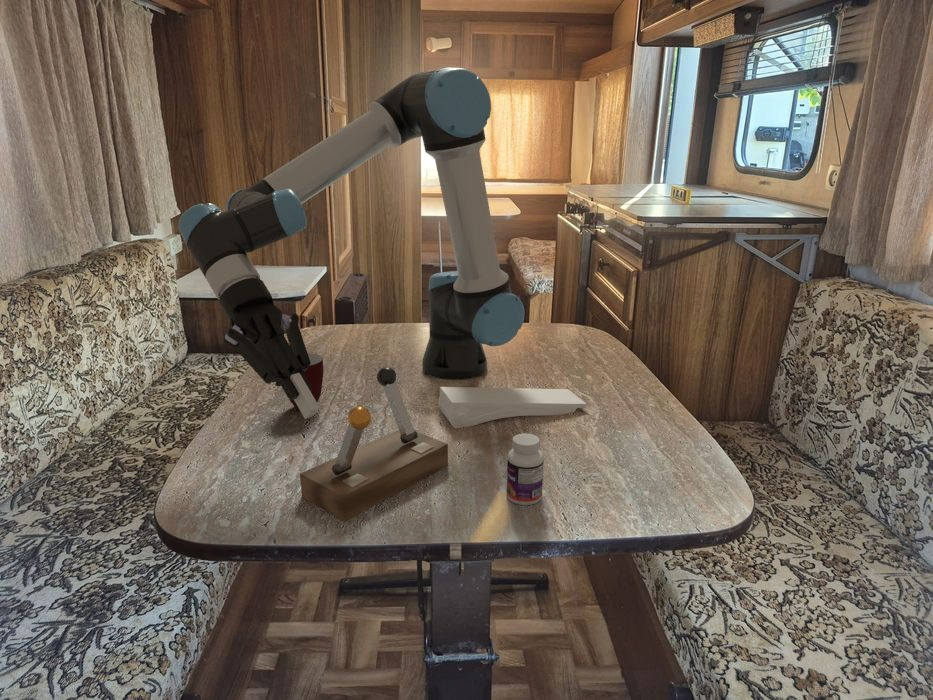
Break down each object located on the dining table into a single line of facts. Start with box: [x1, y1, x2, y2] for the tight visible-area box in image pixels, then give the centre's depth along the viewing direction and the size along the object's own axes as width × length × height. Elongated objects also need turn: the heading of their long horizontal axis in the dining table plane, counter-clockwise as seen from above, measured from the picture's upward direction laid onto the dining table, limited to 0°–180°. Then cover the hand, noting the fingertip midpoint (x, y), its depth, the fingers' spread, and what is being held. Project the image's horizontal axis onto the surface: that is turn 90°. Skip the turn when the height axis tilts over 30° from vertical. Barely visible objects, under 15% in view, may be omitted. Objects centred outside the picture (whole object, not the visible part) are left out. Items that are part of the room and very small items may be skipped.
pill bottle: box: [506, 432, 545, 506], centre depth 99 cm, size 5×5×10 cm
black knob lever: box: [376, 366, 418, 444], centre depth 109 cm, size 3×3×13 cm
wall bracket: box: [437, 386, 587, 429], centre depth 132 cm, size 10×7×28 cm
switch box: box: [299, 429, 449, 522], centre depth 105 cm, size 10×22×4 cm, turn 139°
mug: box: [288, 353, 325, 411], centre depth 131 cm, size 10×8×10 cm
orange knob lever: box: [332, 406, 372, 475], centre depth 96 cm, size 3×3×13 cm
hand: (312, 413), depth 101 cm, fingers closed
